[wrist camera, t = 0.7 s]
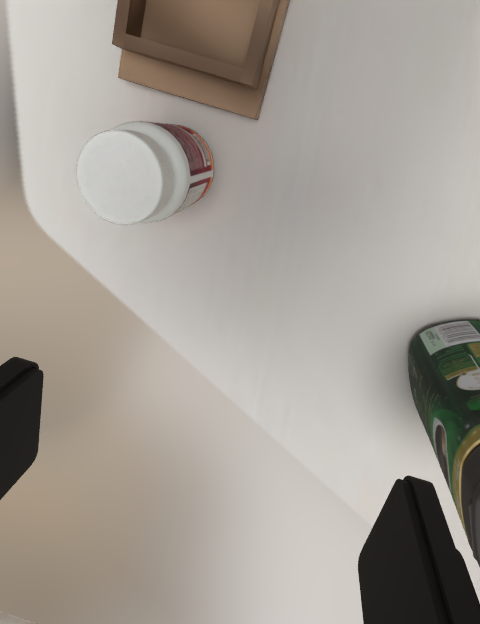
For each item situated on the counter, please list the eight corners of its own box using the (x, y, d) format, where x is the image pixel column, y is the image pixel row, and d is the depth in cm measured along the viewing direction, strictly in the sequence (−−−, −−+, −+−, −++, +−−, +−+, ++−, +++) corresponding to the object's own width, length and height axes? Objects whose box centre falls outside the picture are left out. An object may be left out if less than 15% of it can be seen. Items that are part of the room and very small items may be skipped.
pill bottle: (144, 117, 34) (67, 107, 23) (222, 134, 33) (178, 130, 23) (137, 197, 36) (63, 220, 26) (208, 214, 36) (163, 244, 25)
